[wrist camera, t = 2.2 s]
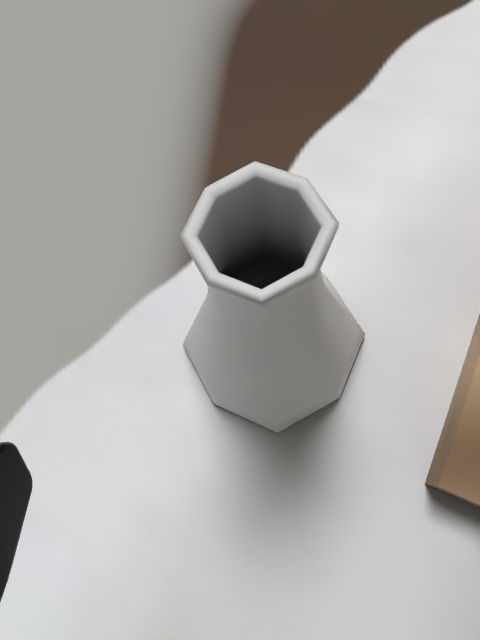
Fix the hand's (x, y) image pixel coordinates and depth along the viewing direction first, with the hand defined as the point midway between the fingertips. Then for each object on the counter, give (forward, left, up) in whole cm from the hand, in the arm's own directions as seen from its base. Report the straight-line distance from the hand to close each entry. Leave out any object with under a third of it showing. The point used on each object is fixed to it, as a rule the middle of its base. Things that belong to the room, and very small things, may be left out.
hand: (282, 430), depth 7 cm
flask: (+4, +1, -11) cm, 12 cm away
